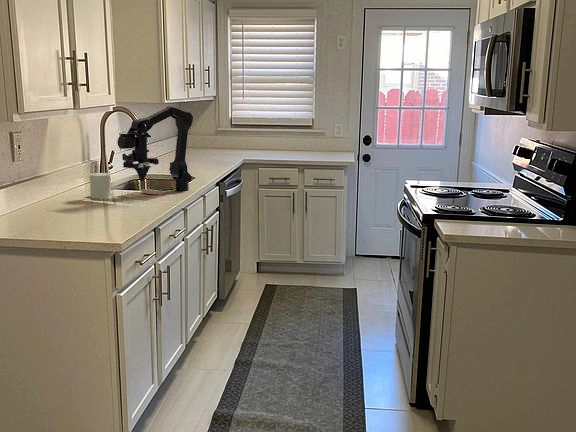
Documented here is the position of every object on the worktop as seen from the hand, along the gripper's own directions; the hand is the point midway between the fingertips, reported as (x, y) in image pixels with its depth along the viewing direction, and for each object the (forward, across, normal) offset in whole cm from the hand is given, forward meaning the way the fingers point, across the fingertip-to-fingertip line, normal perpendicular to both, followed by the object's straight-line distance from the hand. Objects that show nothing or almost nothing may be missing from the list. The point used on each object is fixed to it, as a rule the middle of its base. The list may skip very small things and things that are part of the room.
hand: (141, 181), depth 269 cm
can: (+8, +11, -15) cm, 20 cm away
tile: (+6, -4, 0) cm, 7 cm away
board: (+8, +1, 0) cm, 8 cm away
